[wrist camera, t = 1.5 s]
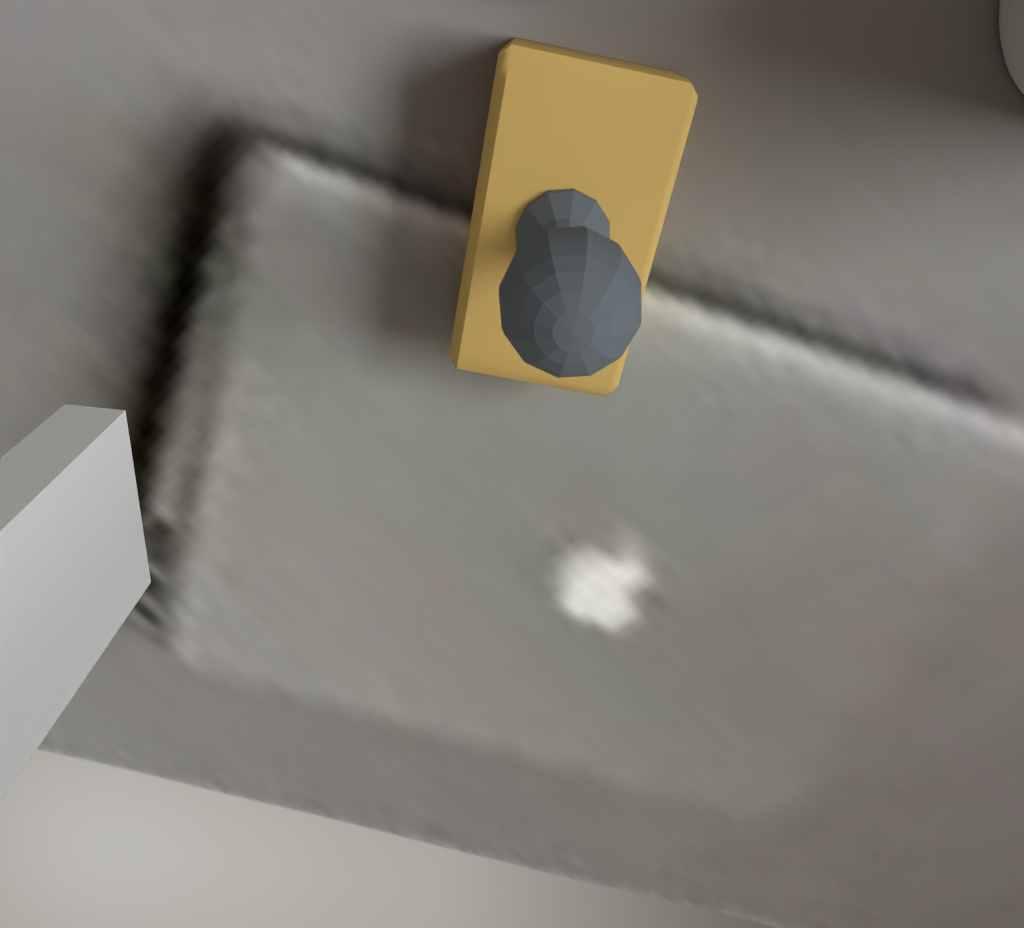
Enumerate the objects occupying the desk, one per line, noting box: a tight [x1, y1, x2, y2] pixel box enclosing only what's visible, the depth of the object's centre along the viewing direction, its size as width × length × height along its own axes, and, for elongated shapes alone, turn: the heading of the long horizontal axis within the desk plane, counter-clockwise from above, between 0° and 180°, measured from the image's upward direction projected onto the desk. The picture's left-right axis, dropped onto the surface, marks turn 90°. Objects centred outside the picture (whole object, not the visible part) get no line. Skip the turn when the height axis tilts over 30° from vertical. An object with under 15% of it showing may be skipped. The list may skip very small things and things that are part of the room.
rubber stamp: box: [449, 37, 698, 397], centre depth 23 cm, size 10×6×12 cm, turn 169°
